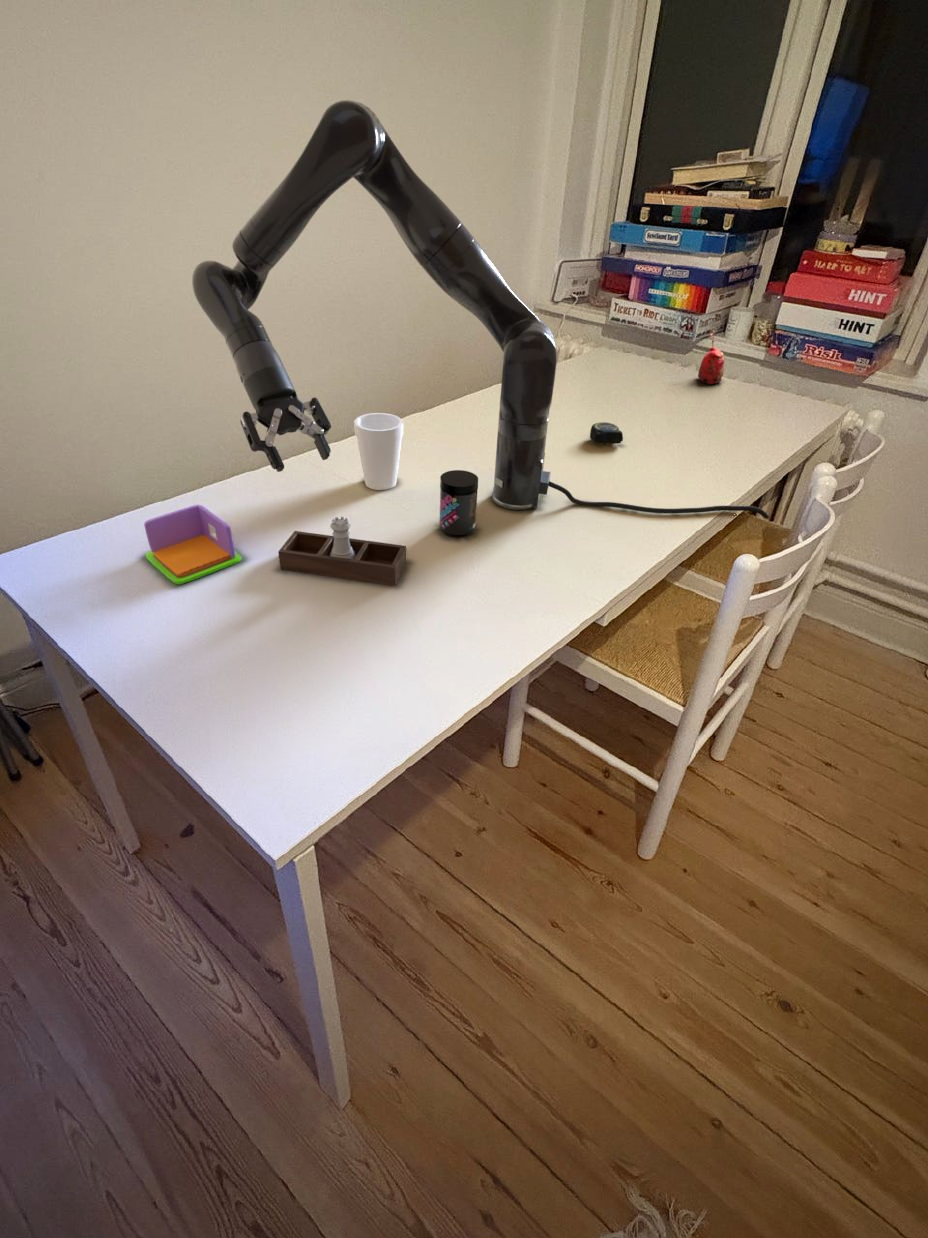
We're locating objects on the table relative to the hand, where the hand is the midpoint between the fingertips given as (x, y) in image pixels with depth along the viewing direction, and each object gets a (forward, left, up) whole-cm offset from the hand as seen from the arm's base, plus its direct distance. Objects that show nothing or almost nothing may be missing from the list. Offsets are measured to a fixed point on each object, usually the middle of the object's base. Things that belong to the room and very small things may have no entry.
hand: (304, 463), depth 117 cm
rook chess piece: (-9, +9, -13) cm, 18 cm away
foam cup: (-6, -23, -14) cm, 27 cm away
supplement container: (-25, -8, -14) cm, 30 cm away
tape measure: (-51, -58, -14) cm, 79 cm away
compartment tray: (-9, +9, -13) cm, 19 cm away
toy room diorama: (+16, +13, -14) cm, 25 cm away
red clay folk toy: (-80, -115, -14) cm, 141 cm away
